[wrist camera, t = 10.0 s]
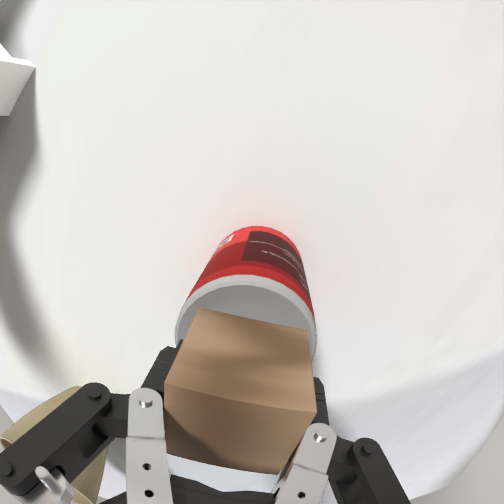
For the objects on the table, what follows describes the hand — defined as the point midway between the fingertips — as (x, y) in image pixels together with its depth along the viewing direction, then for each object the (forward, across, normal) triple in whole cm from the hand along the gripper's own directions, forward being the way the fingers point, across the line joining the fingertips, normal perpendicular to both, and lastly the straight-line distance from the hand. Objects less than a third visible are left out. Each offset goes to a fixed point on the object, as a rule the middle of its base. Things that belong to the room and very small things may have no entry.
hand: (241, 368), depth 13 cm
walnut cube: (+1, 0, 0) cm, 1 cm away
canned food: (+13, 0, 0) cm, 13 cm away
